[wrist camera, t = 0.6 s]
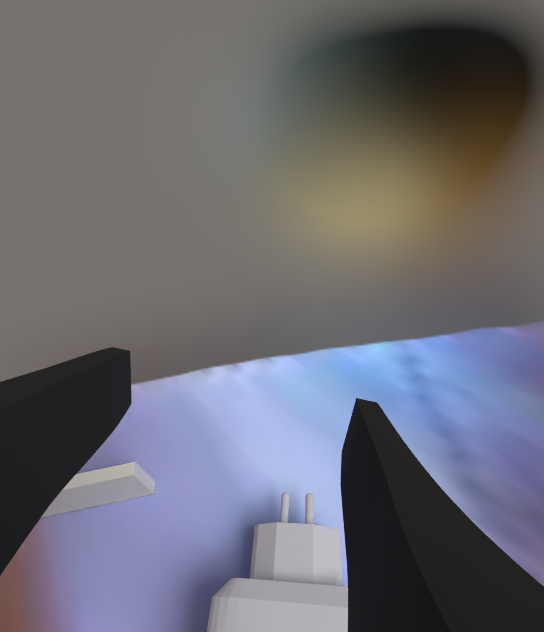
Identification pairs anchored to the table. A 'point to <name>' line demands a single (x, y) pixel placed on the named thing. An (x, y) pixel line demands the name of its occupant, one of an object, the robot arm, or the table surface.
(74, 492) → the box
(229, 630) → the charger
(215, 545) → the table surface
